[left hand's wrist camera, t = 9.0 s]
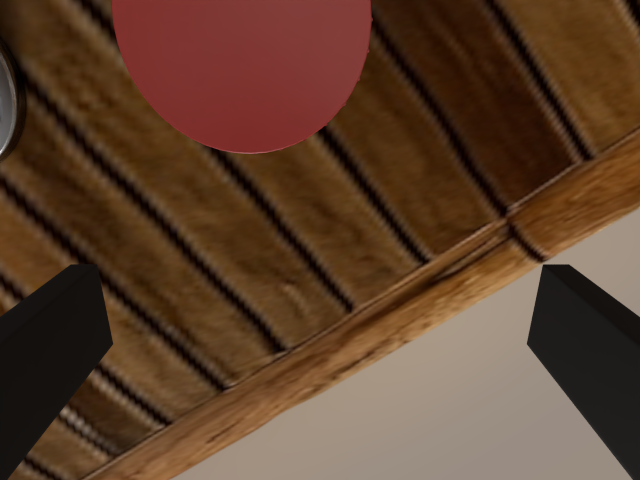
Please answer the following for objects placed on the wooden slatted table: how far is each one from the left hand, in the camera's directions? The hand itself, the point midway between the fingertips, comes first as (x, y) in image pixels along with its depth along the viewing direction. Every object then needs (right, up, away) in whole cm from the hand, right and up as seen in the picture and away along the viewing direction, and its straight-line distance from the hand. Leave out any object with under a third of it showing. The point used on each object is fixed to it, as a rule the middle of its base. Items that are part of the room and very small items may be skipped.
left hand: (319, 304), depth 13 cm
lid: (-3, +11, +4) cm, 12 cm away
